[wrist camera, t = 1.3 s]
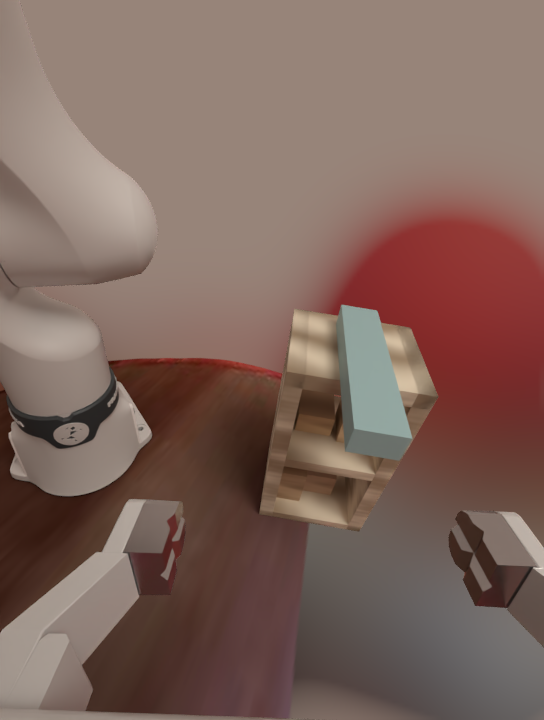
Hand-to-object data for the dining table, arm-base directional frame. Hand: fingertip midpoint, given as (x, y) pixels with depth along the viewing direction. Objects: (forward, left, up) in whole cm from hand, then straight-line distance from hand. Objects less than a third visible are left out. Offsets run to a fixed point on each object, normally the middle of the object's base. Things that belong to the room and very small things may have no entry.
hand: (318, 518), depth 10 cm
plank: (-13, +16, -10) cm, 23 cm away
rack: (-17, +19, -36) cm, 44 cm away
